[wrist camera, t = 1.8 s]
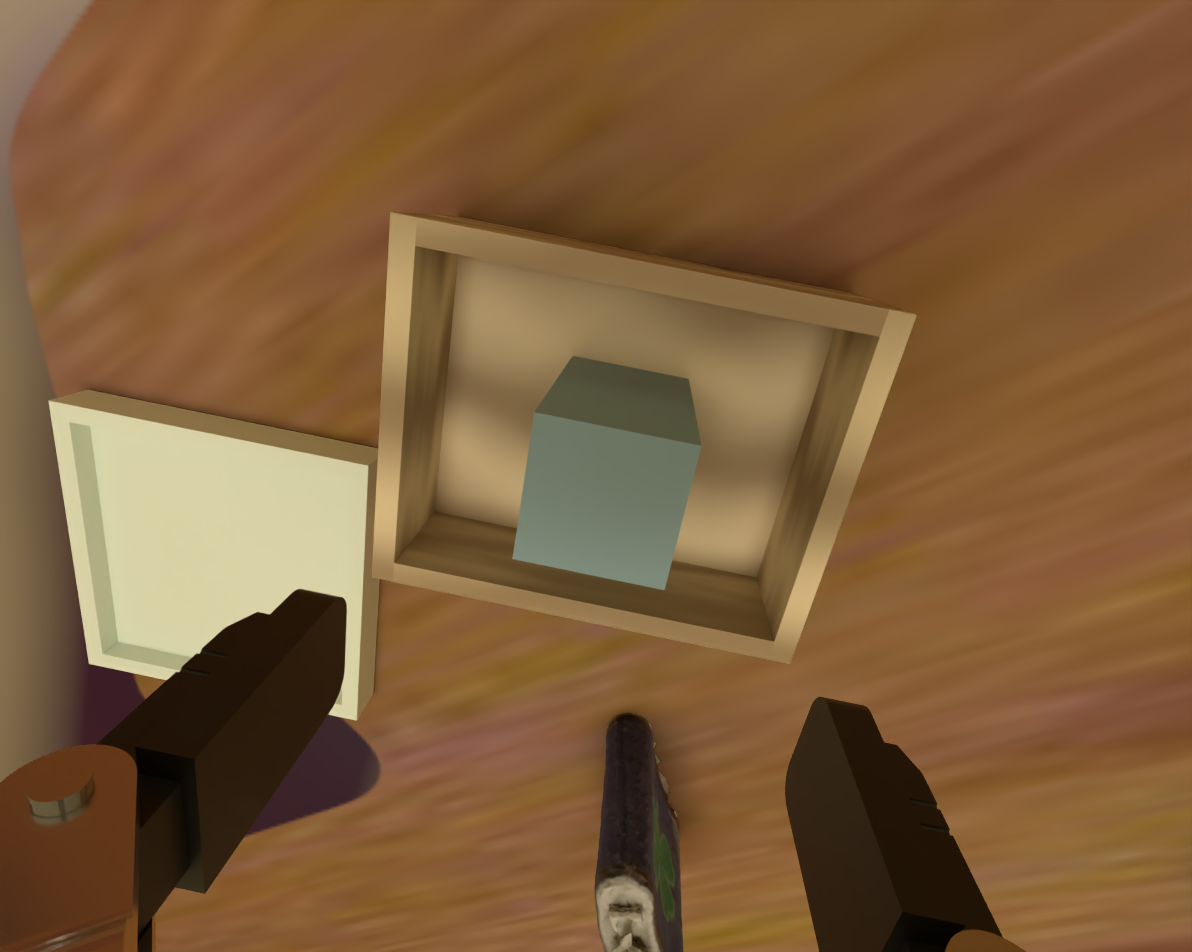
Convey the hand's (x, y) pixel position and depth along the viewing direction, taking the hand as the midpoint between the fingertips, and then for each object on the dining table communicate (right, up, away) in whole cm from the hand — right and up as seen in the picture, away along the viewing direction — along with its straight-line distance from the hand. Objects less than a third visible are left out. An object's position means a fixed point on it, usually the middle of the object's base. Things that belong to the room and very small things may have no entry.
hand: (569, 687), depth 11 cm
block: (+1, +6, +14) cm, 15 cm away
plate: (-17, 0, +21) cm, 27 cm away
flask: (+3, -13, +24) cm, 27 cm away
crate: (+2, +6, +16) cm, 17 cm away
